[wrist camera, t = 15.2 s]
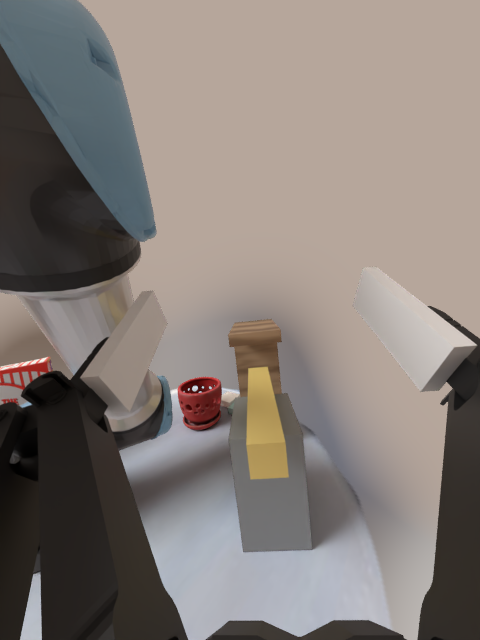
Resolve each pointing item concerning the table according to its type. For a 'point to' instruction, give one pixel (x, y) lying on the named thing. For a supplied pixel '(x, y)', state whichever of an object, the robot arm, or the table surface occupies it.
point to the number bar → (264, 429)
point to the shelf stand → (256, 351)
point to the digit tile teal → (230, 409)
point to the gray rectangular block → (271, 487)
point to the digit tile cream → (228, 398)
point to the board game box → (20, 378)
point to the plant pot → (200, 402)
